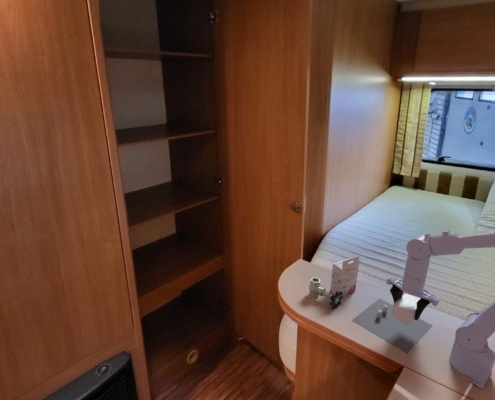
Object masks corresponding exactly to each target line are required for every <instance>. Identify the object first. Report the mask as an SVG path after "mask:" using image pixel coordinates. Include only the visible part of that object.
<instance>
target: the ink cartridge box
mask: <svg viewBox="0 0 495 400" xmlns="http://www.w3.org/2000/svg"><path fill="white" fill-rule="evenodd" d="M359 266H360V256H355V257H352V258H349V257H348V258H346V259H343V260H340V261H337V262H333V263H332V267H331V268H332V269H331V277H330V278H331V281H330V289H329V291H330V292H331V293H333V295H335V293H336V292H340V291H341V292H342V293H343V294H342V296H343V297H344V296H345V295H347V294H351V293H352V292H355V291H356V289H357V288H356V287H357V281H358V273H359Z"/></svg>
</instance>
